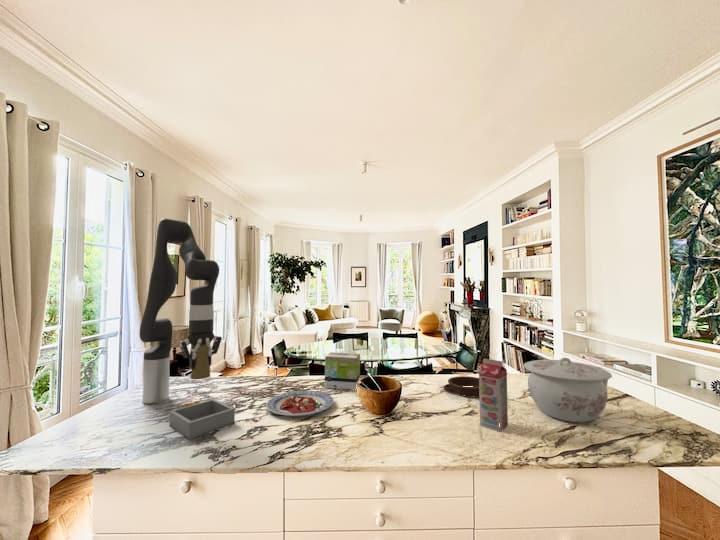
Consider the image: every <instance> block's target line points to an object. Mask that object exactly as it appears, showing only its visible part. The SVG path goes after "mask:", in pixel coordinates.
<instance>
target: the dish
mask: <svg viewBox="0 0 720 540" xmlns="http://www.w3.org/2000/svg"><path fill="white" fill-rule="evenodd" d="M463 386H473V387H463ZM443 390H444V391H445V392H450V393H454V394H455V393H457V394H456V395H458V394H460V395H459V396H461V395H465V396H464V397H466V396H479V377H474V376H453V377H449V378H448V379H447V384H445V385H443Z"/></svg>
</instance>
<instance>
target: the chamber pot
mask: <svg viewBox="0 0 720 540" xmlns="http://www.w3.org/2000/svg"><path fill="white" fill-rule="evenodd" d="M523 368H525V370H527V371H529V372H530V374H529V376H528V378H527V387H528V391H529V395H530V397H531V398H532V400H533V402H534V403H535V405H536V406H537V407H538V410H540V411H541V412H542V413H544V414H545V415H547V416H549V417H552V418H553V417H554V419H556V418H557V419H556V420H559V419H560V421H562V420H564V421H563V422H567V421H569V422H568V423H576V422H578V423H590V422H593V421H595V420H596V419H597V418H598V417H599V416H600V415H601V414H602V413H603V412H604V410H605V409H606V406H607V401H608V388H607V386H608V382H609V380H610V379H612V378H613V375H612V373H611V372H609V371H607V370H606V369H604V368H602V367H600V366H594V365H592V364H587V363H583V362H578V361H572V360H571V359H570V358H567V357H562V358H560V359H536V360H530V361H527V362H524V364H523Z"/></svg>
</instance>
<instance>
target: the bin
mask: <svg viewBox="0 0 720 540" xmlns="http://www.w3.org/2000/svg"><path fill="white" fill-rule="evenodd" d="M175 409H176V410H175ZM175 409H172V410H170V411H169V425H168V426H169V427H170V428H171V429H172V430H174V431H176V432H177V433H179V434H180V435H182V436H183V437H184V438H186V439H187V440H192V439H195V438H199V437H200V436H203V435H206V434H209V433H212V432H215V431H218V430H220V429H223V428H226V427H229V426H232V425H234V424H235V414H236V413H235V412H236V410H235V407H233V406H230V405H228V404H226V403H223V402H221V401H219V400H217V399H215V398H212V399H207V400H205V401H201V402H199V403H197V404H194V405H190V406H186V407H183V408H179V409H177V408H175ZM231 424H232V425H231Z"/></svg>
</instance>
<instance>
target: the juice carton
mask: <svg viewBox="0 0 720 540" xmlns="http://www.w3.org/2000/svg"><path fill="white" fill-rule="evenodd" d="M507 370H508V369H506V367H504V361H502V360H497V359H489V358H484V357H483V358H482V364H481V365H480V367H479V370H478V378H479V397H478V398H479V426H480V427H483V428H486V429H490V430H493V431H496V432H497V433H498V432H499V433H500V432H502V431H503V430H504V429H505V427H506V428H507V427H508V426H509V425H508V424H509V422H508V421H509V419H508V416H509V415H508V413H509V412H508V372H507ZM499 423H500V427H499Z"/></svg>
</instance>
